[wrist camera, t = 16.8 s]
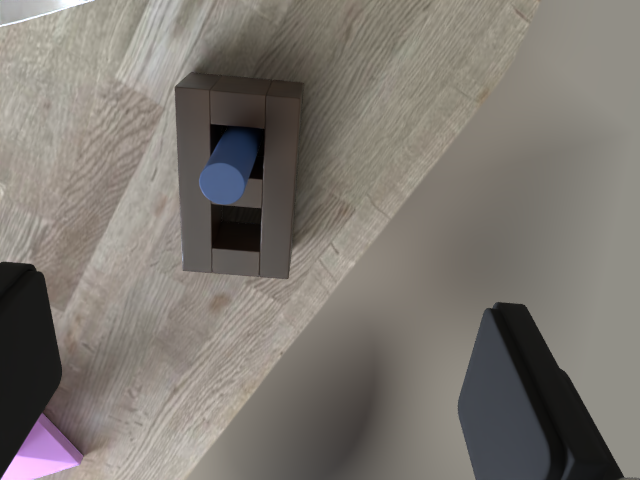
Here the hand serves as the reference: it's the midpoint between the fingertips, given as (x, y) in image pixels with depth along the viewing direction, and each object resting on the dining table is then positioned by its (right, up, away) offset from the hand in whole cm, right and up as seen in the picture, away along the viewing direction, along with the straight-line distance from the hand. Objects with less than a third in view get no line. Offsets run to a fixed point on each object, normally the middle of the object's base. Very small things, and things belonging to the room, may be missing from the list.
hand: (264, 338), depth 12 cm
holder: (-5, +8, +35) cm, 36 cm away
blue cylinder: (-5, +11, +33) cm, 35 cm away
